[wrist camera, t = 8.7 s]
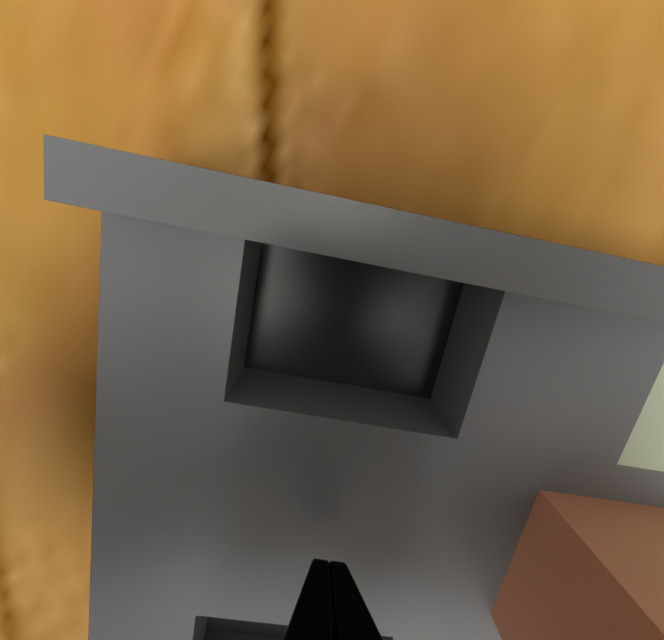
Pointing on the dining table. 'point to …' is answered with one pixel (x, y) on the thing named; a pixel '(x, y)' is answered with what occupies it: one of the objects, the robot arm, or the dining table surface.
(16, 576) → the dining table surface
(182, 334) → the box
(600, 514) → the block
